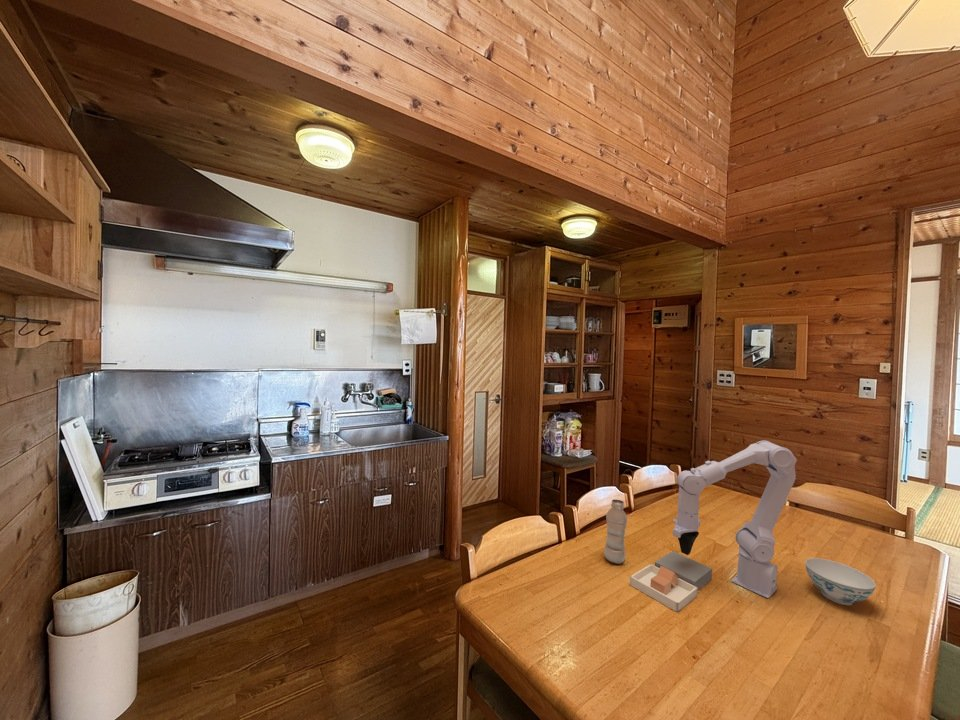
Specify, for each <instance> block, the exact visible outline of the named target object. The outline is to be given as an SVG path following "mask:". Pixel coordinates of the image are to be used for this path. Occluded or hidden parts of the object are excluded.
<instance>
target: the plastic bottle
mask: <svg viewBox="0 0 960 720" xmlns="http://www.w3.org/2000/svg"><path fill="white" fill-rule="evenodd" d="M610 505H611V508H610V509H608V510H607V512H606V514H605V515H606V516H605V517H606V540H605V541H606V542H605V545H604V550H603V553H604V557H605V559H606V560H607V562H610V563H613V564H617V565H618V564H623V562H625V560H626V549H625V538H626V537H625V536H626V535H625V534H626V529H627V528H626V527H627V524H628V517H627V514H626V512H625V511H624V508H625V506H624V505H625V503H624V501H623V500H622V499H612V500H611V504H610Z"/></svg>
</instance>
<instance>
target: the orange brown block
mask: <svg viewBox="0 0 960 720" xmlns="http://www.w3.org/2000/svg"><path fill="white" fill-rule="evenodd" d="M657 575H660V576H662V577H664V578H666V579H668V580H670V581H671V586H673V587H675V586H676V583H677V581H678V577H677V575H676V574H675V572H673V571H671V570H669V569H667V568H665V567H663V566H661V567H660V569H659V572H658V574H657Z"/></svg>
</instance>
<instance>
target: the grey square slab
mask: <svg viewBox="0 0 960 720" xmlns="http://www.w3.org/2000/svg"><path fill="white" fill-rule="evenodd" d="M654 566H656V567H658V568H660V567H661V566H663V567H665V568H667V569H669V570H671V571H673V572H675V574H676V575H677V577H678V578H680V579H682V580H683V581H685V582H687V583H689V584H691V585H693V586H695V587H697V588H698V591H699V590H700V589H702V588H703V587H705V586H706V585H707V584H708V583H710V581H712V578H713V577H712V576H713V568H712V567H710V566H707V565H705V564H702V563H700V562H699V561H696V560H695V559H692V558H690V557H687V556H685V555H683V554H681V553H678V552H676V551H674V550H672V551H671V552H669V553H667V554H665V555H664V556H662V557H661V558H659V559H657V560H655V561H654Z"/></svg>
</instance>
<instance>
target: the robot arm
mask: <svg viewBox="0 0 960 720" xmlns="http://www.w3.org/2000/svg"><path fill="white" fill-rule="evenodd" d="M797 461H798V459H797V458H796V456H795V455H794V454H793V452H792V450H790V449H788V448H787V447H784V446H780V445H778V444H776V443H774V442H771V441H769V440H765V439H763V440H760V441H757V442H756V443H751V444H749V446H747V447H746V448H745V449H743V450H740V451H739V452H736V453H735V454H733V455H731V456H729V457H727V458H725V459H723V460H721V461H716V460H711V461H710V460H706V461H705V462H704V464H701V465H700V466H697V467H695V468H694V467H692V468H690V470H683V471H681V472H679V473H678V475H677V477H675V481H676V483H677V484H678V495H677V496H678V497H677V515H676V518H674V519H672V522H673V523H674V524H675V526H674V528H673V529H672V536H674V537H675V538H677V539H678V544H679V549H680V553H682V554H684V555H686V556H688V555H690V554H691V552H692V548H693V546H694V543H695V541H696V539H697V538H698V536H699V535H700V532H699V527H700V526H701V519H700V518H699V509H700V508H699V507H700V494H701V493H702V492H703V491H704V489H705V488H706V487H707V486H710V485H712V484H714V483H717V482H719V481H721V480H723V479H726V475H727V473H730V472H732V471H735V470H737V469H740V468H743V467H746V466H749V465H752V464H756V465H761V466H765V467H766V469H767V470H768V472H769V474H770V476H769V479H768V481H767V484H766V485H765V488H764V491H763V493H762V495H761V497H760V499H759V502H758V504H757V507H756V509H755V511H754V513H753V516H752V518H751V519H750V520H749V521H746V522H744V523H743V524H742V527H741V528H740V529H738V530H737V531H736V533H735V538H734V539H735V541H736V543H737V544H738V545H739V546H738V559H737V573H736V575H735V577H733V578H732V579H731V582H732V583H734V584H736V585H738V586H739V587H743V588H745V589H746V590H749V591H750V592H753V593H755V594H757V595H760V596H762V597H764V598H765V599H770V597H771V596H772V595H774V593H775V592H776V591H777V589H778V587H777V580H778V566H777V565H776V564H775V563H773V562H771V561H772V559H773V558H774V555H775V550H774V549H775V545H776V539H775V537H774V534H773V530H774V528H775V526H776V524H777V522H778V519H779V517H780V515H781V513H782V510H783V508H784V505H785V504H786V501H787V499H788V497H789V494H790V492H791V490H792V487H793V486H794V484H795V481H796V474H797V473H796V467H795V466H796V463H797Z"/></svg>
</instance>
